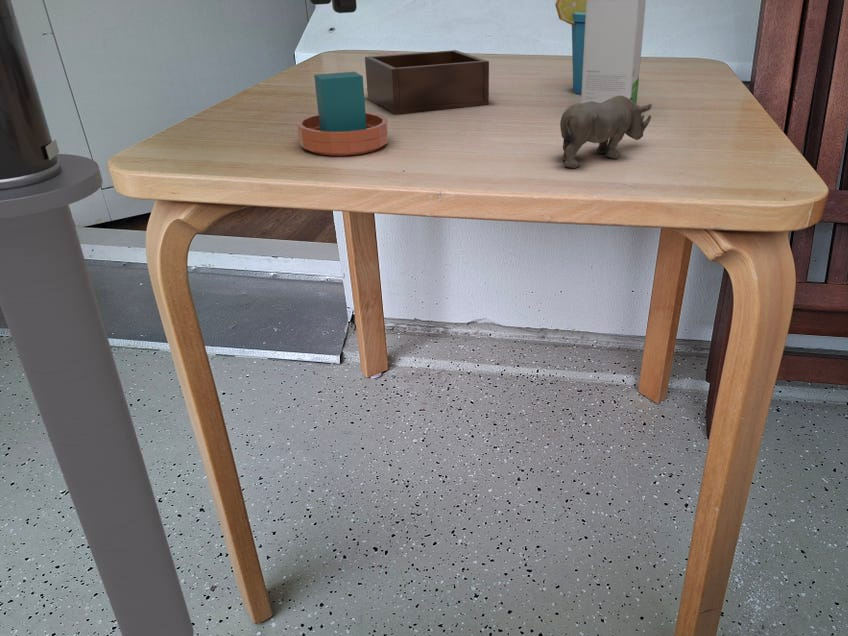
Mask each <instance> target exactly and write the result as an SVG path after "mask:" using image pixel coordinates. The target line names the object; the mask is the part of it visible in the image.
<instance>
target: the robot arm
mask: <svg viewBox="0 0 848 636" xmlns="http://www.w3.org/2000/svg"><path fill="white" fill-rule="evenodd" d="M309 2H310V3H311V4H313V5H329V4H330V3H331V5H332V10H333V11H334V13H338V14H349V13H354V12H356V11H357V0H309ZM27 53H28V52H27V49H26V46H25V43H24V39H23V35H22V32H21V29H20V25H19V23H18V19H17V16H16V11H15V9H14V6H13V1H12V0H0V190H5V189H13V188H19V187H24V186H28V185H33V184H36V183H40V182H43V181H46V180H48V179H51V178H53V177H55V176H56V175H58V174H59V173H60V172H61V170H62V169H61V165H60V162H59V159H58V158H57V156H56V155H57V154H60V149H59V146H58V143H57V140H56V139H54V140H53V139H52V136H51V135H52V134H51V132H50V128H49V125H48V122H47V119H46V115H45V111H44V108H43V105H42V101H41V98H40V94H39V91H38V87H37V83H36V80H35V77H34V73H33V70H32V66H31V64H30V60H29V56H28V54H27Z"/></svg>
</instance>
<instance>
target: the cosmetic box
mask: <svg viewBox="0 0 848 636" xmlns="http://www.w3.org/2000/svg"><path fill="white" fill-rule="evenodd" d="M646 2H647V0H586V18H585V37H584V55H583V74H582V93H581V94H580V104H581V103H585V102H590V101H593V102H597V103H602V102H604V101H606V100H609V99H611V98H613V97H615V96H624V97H627V98H628V99H630V98H631V97H632V98H633V99H634V103H635V104H636V105H638V94H639V82H640V71H641V70H640V69H641V61H642V59H641V58H642V51H643V49H642V48H643V38H644V37H643V35H644V26H645V25H644V24H645V13H646Z"/></svg>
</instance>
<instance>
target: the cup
mask: <svg viewBox="0 0 848 636" xmlns="http://www.w3.org/2000/svg"><path fill="white" fill-rule="evenodd" d="M555 9H556V12H557V16H558V19H559V20H561V21H563V22H565V23H566V24H568V25H571V51H572V52H571V53H572V55H571V56H572V91H573V92H574V93H575V94H578V95H581V93H582V74H583V55H584V37H585V18H586V0H556V2H555Z"/></svg>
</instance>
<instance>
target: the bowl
mask: <svg viewBox="0 0 848 636" xmlns="http://www.w3.org/2000/svg"><path fill="white" fill-rule="evenodd" d="M365 113H366V126H367V129H363V130H354V131H320V124H319V114H318V113H317V114H313V115H309V116H307V117H304V118H301V119H300V120H299V121H298V122H297V124H296V127H297V136H298V142H299V145H300V147H302V148H303V149H304V150H306V151H309V152H311V153H314V154H316V155H322V156H333V157H334V156H335V157H336V156H337V157H342V156H343V157H344V156H346V157H347V156H356V155H362V154H368V153H371V152H375V151H377V150H379V149H381V148H382V147H383V146H385V145H387V144H388V142H389V130H388V118H386V117H384V116H383V115H381V114H378V113H372V112H366V111H365Z"/></svg>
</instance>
